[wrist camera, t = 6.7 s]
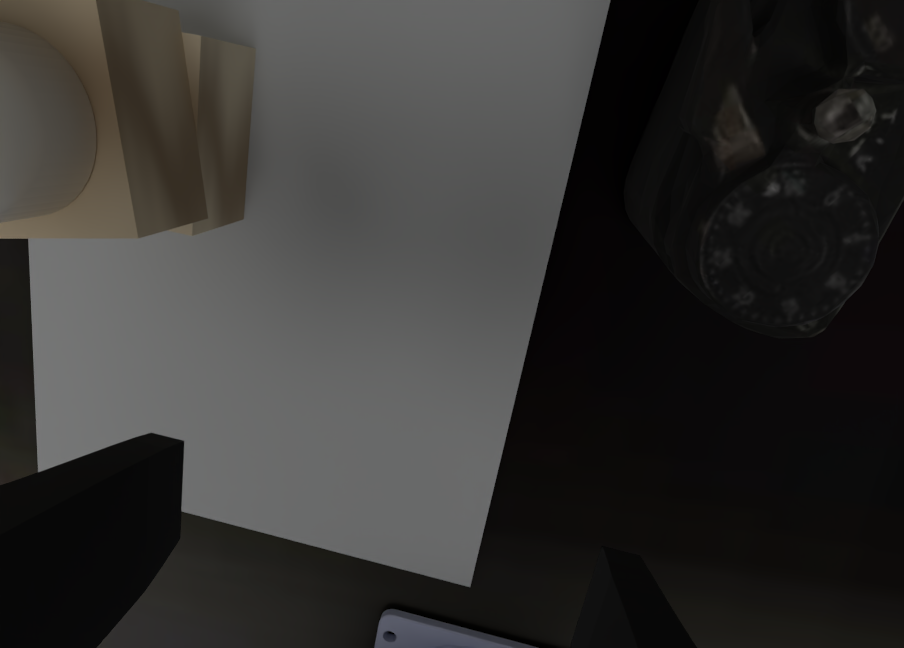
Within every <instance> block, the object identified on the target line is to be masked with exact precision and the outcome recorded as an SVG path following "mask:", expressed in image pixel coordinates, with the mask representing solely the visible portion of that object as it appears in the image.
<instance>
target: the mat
mask: <svg viewBox="0 0 904 648" xmlns="http://www.w3.org/2000/svg"><path fill="white" fill-rule="evenodd" d="M143 1H147V2H150V3H154V4H157V5H161V6H164V7H168V8H171V9H175V10H178V11H179V17H180V24H181V31H182V32H184V33H189V34H194V35H199V36H204V37H208V38H213V39H217V40H221V41H225V42H230V43H234V44H238V45H243V46H247V47H251V48H255V49H256V55H255V69H254V83H253V97H252V111H251V125H250V139H249V153H248V166H247V180H246V194H245V208H244V219H243V220H240V221H237V222H234V223H231V224H228V225H225V226H222V227H219V228H216V229H213V230H209V231H206V232H203V233H200V234H197V235H194V236H189V235H185V234H180V233H176V232H171V231H167V230H166V231H163V232H159V233H156V234H152V235H149V236H145V237H142V238H138V239H78V238H28V241H29V264H30V288H31V312H32V336H33V360H34V383H35V407H36V431H37V455H38V472H40V471H43V470H46V469H49V468H51V467H54V466H57V465H60V464H62V463H65V462H68V461H71V460H73V459H76V458H79V457H82V456H84V455H87V454H90V453H92V452H95V451H98V450H101V449H103V448H106V447H109V446H112V445H114V444H117V443H120V442H123V441H126V440H129V439H132V438H135V437H138V436H141V435H145V434H148V433H155V434H159V435H163V436H167V437H171V438H175V439H179V440H183V441H184V461H183V484H182V507H181V511H182V512H186V513H190V514H194V515H198V516H201V517H205V518H209V519H213V520H217V521H220V522H224V523H228V524H232V525H236V526H240V527H243V528H247V529H251V530H255V531H259V532H262V533H266V534H270V535H274V536H278V537H281V538H285V539H289V540H293V541H297V542H300V543H304V544H308V545H312V546H316V547H319V548H323V549H327V550H331V551H335V552H338V553H342V554H346V555H350V556H354V557H357V558H361V559H365V560H369V561H373V562H376V563H380V564H384V565H388V566H392V567H395V568H399V569H403V570H407V571H411V572H414V573H418V574H422V575H426V576H430V577H433V578H437V579H441V580H445V581H449V582H452V583H456V584H460V585H464V586H468V587H470V585H471V581H472V577H473V573H474V569H475V564H476V560H477V556H478V552H479V548H480V544H481V539H482V535H483V531H484V527H485V523H486V518H487V514H488V510H489V506H490V502H491V498H492V493H493V489H494V485H495V481H496V477H497V472H498V468H499V464H500V460H501V456H502V452H503V447H504V443H505V439H506V435H507V431H508V426H509V422H510V418H511V414H512V410H513V406H514V401H515V397H516V393H517V389H518V385H519V381H520V376H521V372H522V368H523V364H524V360H525V355H526V351H527V347H528V343H529V339H530V335H531V330H532V326H533V322H534V318H535V314H536V309H537V305H538V301H539V297H540V293H541V289H542V284H543V280H544V276H545V272H546V268H547V263H548V259H549V255H550V251H551V247H552V243H553V238H554V234H555V230H556V226H557V222H558V218H559V213H560V209H561V205H562V201H563V197H564V192H565V188H566V184H567V180H568V176H569V172H570V167H571V163H572V159H573V155H574V151H575V146H576V142H577V138H578V134H579V130H580V126H581V121H582V117H583V113H584V109H585V105H586V100H587V96H588V92H589V88H590V84H591V80H592V75H593V71H594V67H595V63H596V59H597V54H598V50H599V46H600V42H601V38H602V34H603V29H604V25H605V21H606V17H607V13H608V9H609V4H610V0H143Z"/></svg>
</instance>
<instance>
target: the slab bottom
mask: <svg viewBox="0 0 904 648" xmlns="http://www.w3.org/2000/svg"><path fill="white" fill-rule="evenodd" d="M182 38H183V45H184V52H185V59H186V66H187V73H188V80H189V87H190V94H191V101H192V108H193V115H194V122H195V129H196V136H197V143H198V150H199V157H200V164H201V171H202V178H203V185H204V192H205V199H206V206H207V213H208V219H205V220H201V221H198V222H194V223H191V224H187V225H184V226H180V227H177V228H173V229H170V230H167V231H171V232H176V233H180V234H185V235H189V236H194V235H197V234H200V233H203V232H206V231H209V230H213V229H216V228H219V227H222V226H225V225H228V224H231V223H234V222H237V221H240V220H243V219H244V208H245V194H246V180H247V166H248V153H249V139H250V125H251V111H252V97H253V83H254V69H255V55H256V49H255V48H251V47H247V46H243V45H238V44H234V43H230V42H225V41H221V40H217V39H213V38H208V37H204V36H199V35H194V34H189V33H184V32H182Z"/></svg>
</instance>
